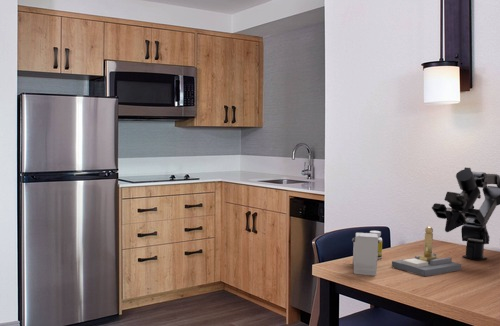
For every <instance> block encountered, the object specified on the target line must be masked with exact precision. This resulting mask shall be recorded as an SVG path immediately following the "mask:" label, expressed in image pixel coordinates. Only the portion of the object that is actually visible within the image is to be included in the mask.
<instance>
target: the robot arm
mask: <svg viewBox="0 0 500 326" xmlns="http://www.w3.org/2000/svg"><path fill="white" fill-rule="evenodd" d="M455 177H456V181H457V183H458V186H459V189H460V190H461V192H460V193H459V192H452V191H446V194H445V196H444V201H445V202H447V203H448V206H449V207H446V204H444V203H437V202H436V203H434V204H433V205H432V206H431V210H432V211H433V213H434V214H435V215H436V217H437V218H438V219H443V220H446V221H445V227H444V231H445V233H449V232H451V231H453V230H455V229H457V228H459V227H461V229H460V230H461V241H462V242H466V246H465V247H466V248H465V255H462V256H461V257H462V258H465V259H470V260H474V261H481V260H487V258H488V257H486V256H484V249H485V248H484V247H485V245H489V244H490V235H489V231H488V228H487V223H488V221H489V220H490V218H491V216H492V215H493V213H494V211H495V210H496V208H497V206H500V174H497V173H486V172H483V171H482V172H480V171H472V169H471V167H464V169H461V170H459V171H458V172H457V173H456V174H455ZM493 185H496V186H493ZM480 189H482V192H483V196H484V200H483V202H482V204H481V206H480V207H479V209H477V208H475V203H476V201H477V200H478V199H479V200H480V199H481V197H482V195H481V190H480Z"/></svg>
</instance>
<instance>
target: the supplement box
mask: <svg viewBox="0 0 500 326" xmlns="http://www.w3.org/2000/svg"><path fill="white" fill-rule="evenodd" d="M354 238H355V252H354V265H353V274H354V275H364V276H375V277H376V276H377V271H378V269H377V268H378V259H377V252H378V235H377V234H373V233H370V232H355V237H354Z"/></svg>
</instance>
